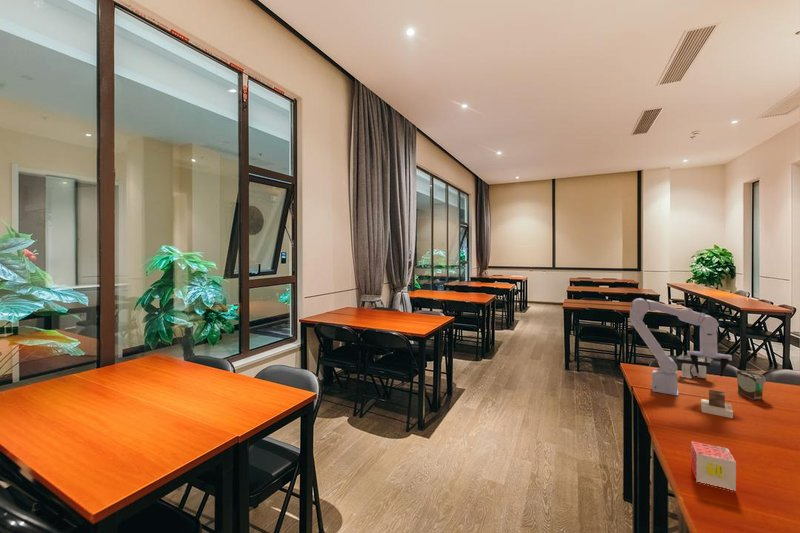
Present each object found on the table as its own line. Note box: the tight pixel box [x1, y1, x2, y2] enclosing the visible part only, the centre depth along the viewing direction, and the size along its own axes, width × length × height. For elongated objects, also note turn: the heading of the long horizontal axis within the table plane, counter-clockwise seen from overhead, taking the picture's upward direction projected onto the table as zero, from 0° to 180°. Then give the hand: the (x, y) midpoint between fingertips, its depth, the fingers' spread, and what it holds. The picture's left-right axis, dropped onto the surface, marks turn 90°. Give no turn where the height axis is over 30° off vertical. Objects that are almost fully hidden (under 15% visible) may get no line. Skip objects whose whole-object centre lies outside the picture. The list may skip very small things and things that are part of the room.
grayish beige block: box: [708, 389, 726, 408], centre depth 139 cm, size 5×5×5 cm
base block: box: [700, 398, 734, 419], centre depth 139 cm, size 9×9×3 cm
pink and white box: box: [690, 440, 737, 492], centre depth 96 cm, size 8×8×8 cm
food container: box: [735, 369, 767, 401], centre depth 154 cm, size 12×6×10 cm, turn 168°
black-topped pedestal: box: [676, 351, 713, 379], centre depth 179 cm, size 28×26×13 cm
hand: (709, 374), depth 153 cm, fingers open, 7 cm apart
